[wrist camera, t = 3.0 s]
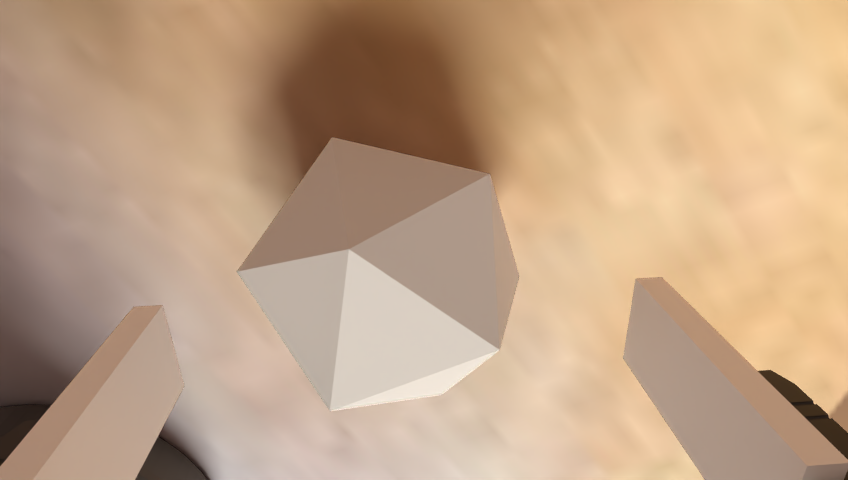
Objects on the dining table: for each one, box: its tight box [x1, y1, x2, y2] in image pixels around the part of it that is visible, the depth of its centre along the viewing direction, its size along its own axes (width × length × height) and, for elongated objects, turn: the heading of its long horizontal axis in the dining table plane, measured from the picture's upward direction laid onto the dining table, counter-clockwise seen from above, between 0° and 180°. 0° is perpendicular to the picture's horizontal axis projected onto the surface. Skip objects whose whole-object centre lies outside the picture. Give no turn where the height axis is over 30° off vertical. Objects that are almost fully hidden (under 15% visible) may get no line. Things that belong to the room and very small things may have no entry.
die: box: [237, 137, 519, 411], centre depth 18 cm, size 8×9×10 cm
